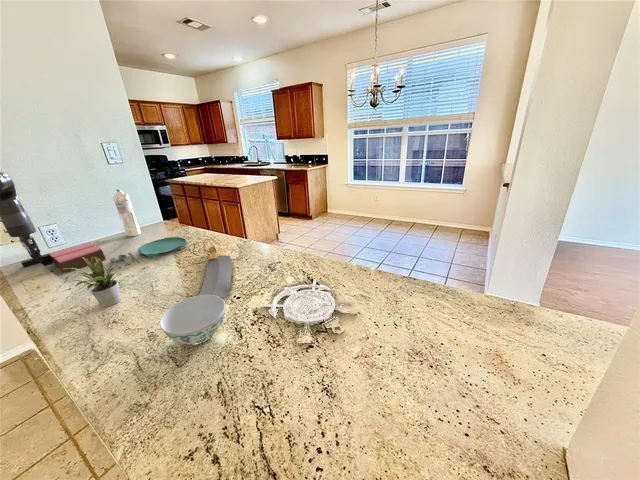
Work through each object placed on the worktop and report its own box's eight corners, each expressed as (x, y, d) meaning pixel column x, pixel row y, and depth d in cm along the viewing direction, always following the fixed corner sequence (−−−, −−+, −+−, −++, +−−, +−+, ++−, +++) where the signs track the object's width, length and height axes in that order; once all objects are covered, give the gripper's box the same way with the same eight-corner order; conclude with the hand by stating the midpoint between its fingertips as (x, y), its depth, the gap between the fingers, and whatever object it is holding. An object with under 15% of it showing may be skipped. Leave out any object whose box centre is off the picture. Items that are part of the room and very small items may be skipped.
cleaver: (233, 248, 119) (231, 300, 84) (209, 252, 117) (197, 307, 82) (231, 242, 118) (229, 291, 83) (207, 245, 115) (195, 298, 80)
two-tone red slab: (65, 273, 105) (59, 261, 103) (54, 265, 113) (49, 254, 111) (106, 259, 116) (101, 248, 114) (94, 253, 123) (89, 242, 121)
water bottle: (123, 236, 142) (106, 190, 132) (135, 232, 148) (119, 187, 138) (133, 237, 140) (116, 191, 130) (144, 232, 146) (129, 188, 136)
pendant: (309, 277, 94) (309, 273, 93) (370, 314, 74) (370, 310, 73) (254, 301, 82) (254, 298, 81) (309, 355, 61) (309, 350, 61)
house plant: (69, 310, 82) (45, 264, 76) (116, 286, 94) (98, 245, 88) (95, 320, 77) (72, 272, 70) (141, 294, 88) (125, 251, 82)
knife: (26, 271, 109) (21, 263, 107) (25, 270, 110) (20, 261, 108) (91, 251, 125) (87, 243, 124) (89, 250, 127) (86, 242, 125)
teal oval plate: (194, 247, 124) (193, 242, 123) (119, 272, 104) (117, 267, 103) (177, 237, 136) (176, 233, 135) (107, 259, 116) (105, 254, 115)
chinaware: (170, 327, 73) (163, 304, 70) (227, 311, 78) (222, 289, 75) (165, 368, 60) (156, 342, 57) (233, 345, 65) (227, 320, 62)
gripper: (1, 223, 106) (21, 259, 112) (7, 229, 98) (29, 267, 105) (27, 218, 112) (45, 252, 118) (35, 222, 104) (54, 259, 110)
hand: (37, 259), depth 111 cm, fingers open, 8 cm apart
